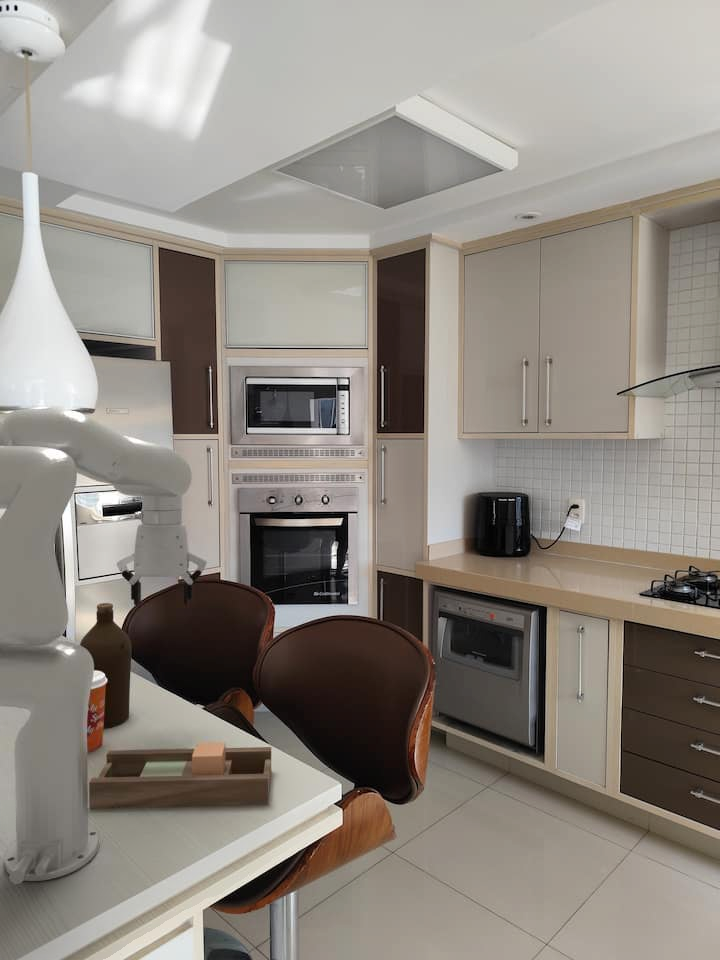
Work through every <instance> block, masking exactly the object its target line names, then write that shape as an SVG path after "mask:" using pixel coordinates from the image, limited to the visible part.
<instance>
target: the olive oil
mask: <svg viewBox="0 0 720 960" xmlns="http://www.w3.org/2000/svg"><path fill="white" fill-rule="evenodd" d="M96 609H97V610H96V622H95V624H94V625H93V626H92V628H90V629H89V630H88V632H87V633H86V634H85V635H84V636H83V637H82V639H81V640H80V644H79V645H81V646H82V647H84V648H85V649H87V651H88V652H89V653H90V654H91V656H92V659H93V663H94V670H95V671H101V672H103V673H104V674H105V677H106V678H107V683H106V687H105V707H104V726H103V729H107V728H108V729H109V728H113V727H117V726H119V725H122V724H123V723H125V722H126V721H127V720H128V719H129V717H130V692H131V691H130V690H131V672H132V671H131V670H132V669H131V667H132V655H133V654H132V649H133V647H132V641H131V639H130V637H129V634H127V632H125V631H124V630H123V628H121V626H120V625H118V624H117V623H116V622H115V621H114V610H113V609H114V604H113V603H109V602H105V603H104V602H102V603H99V604H97V605H96Z"/></svg>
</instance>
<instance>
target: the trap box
mask: <svg viewBox="0 0 720 960" xmlns="http://www.w3.org/2000/svg"><path fill="white" fill-rule="evenodd" d="M194 749H195V748H168V749H167V748H165V749H163V748H162V749H161V748H160V749H158V748H157V749H125V750H124V749H117V750H115V749H112V750H109V749H108V751H107V753H106V762H105V765H104V766H103V768H102V769H101V772H100V773H99V775H98V776H97V777H92V778H91V779H90V780H89V783H88V796H89V797H88V810H107V809H141V808H142V809H144V808H172V807H173V808H176V807H177V808H178V807H179V808H180V807H181V808H182V807H210V806H212V807H215V806H245V805H252V806H253V805H268V804H269V796H270V786H271V785H270V784H271V777H272V776H271V775H272V746H264V747H263V746H261V747H259V746H257V747H256V746H255V747H254V746H253V747H251V746H250V747H225V767H224V771H223V775H192V755H193V752H194Z"/></svg>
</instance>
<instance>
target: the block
mask: <svg viewBox="0 0 720 960" xmlns="http://www.w3.org/2000/svg"><path fill="white" fill-rule="evenodd" d="M225 748H226V742H223V741H222V742H196V744H195V747H194V748H193V749H194V752H193V755H192V775H223V771H224V767H225Z"/></svg>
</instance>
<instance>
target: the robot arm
mask: <svg viewBox="0 0 720 960" xmlns="http://www.w3.org/2000/svg"><path fill="white" fill-rule="evenodd" d="M192 474H193V473H192V470H191V467H190V464H189V462H188V461H187V460H186V458H185V457H183V455H182V454H180V453H178V452H176V451H175V450H173V449H171V448H169V447H166V446H163V445H160V444H155V443H153V442H148V441H145V440H141V439H138V438H134V437H131V436H127V435H124V434H123V435H122V434H120V433H117V432H116V431H114V430H112V429H111V428H108V427H107V426H105V425H104V424H102V423H100V422H98V421H97V420H96V419H93V418H92V417H90V416H88V415H86V414H85V413H82V412H79V411H77V410H76V411H75V410H70V409H31V408H30V409H28V408H26V409H23V408H22V409H21V408H20V409H17V410H13V411H9V412H7V413H6V414H4V415H2V416H0V510H1V509H2V510H5V511H4V512H3V513H2V515H1V516H0V707H5V708H17V709H23V710H24V709H26V710H28V711H29V712H30V714H29V717H28V719H27V720H26V721H25V723H24V724H23V726H21V728H20V730H19V731H18V733H17V735H16V737H15V738H16V739H15V742H14V784H15V788H14V789H15V830H16V831H15V832H16V833H15V835H16V837H15V838H16V840H14V841H13V842H12V844H11V845H10V846H9V847H8V848H7V850H6V852H5V855H4V868H5V871H6V873H7V874H9V876H8V877H9V881H10V882H11V883H12V884H14V885H20V884H22V883H23V881H25V882H40V881H41V882H42V881H47V880H53V879H56V878H57V879H58V878H60V877H63V876H65V875H69V874H71V873H73V872H75V871H77V870H79V869H80V868H82V867H83V866H84V865H86V864H87V863H88V862H90V861H91V860H92V859H93V857H94V856H95V855H96V854H97V853H98V850H99V849H100V834H99V831H98V830H97V829H96V828H95V827H94V826H92V825H91V824H89V797H88V796H89V783H88V752H87V715H88V704H89V697H90V691H91V686H92V680H93V674H94V663H93V659H92V656H91V654H90V653H89V652H88V651H87V649H85V648H84V647H82V646H81V645H80V644H79V643H75V642H72V641H66V640H61V639H59V638H61V637H62V635H64V634H65V631H66V630H67V627H68V623H69V609H68V604H67V602H68V601H67V599H66V594H65V590H64V586H63V582H62V578H61V574H60V570H59V566H58V561H57V556H56V551H55V538H56V534H57V530H58V527H59V525H60V522H61V520H62V517H63V515H64V513H65V511H66V509H67V508H68V505H69V502H70V500H71V498H72V497H73V494H74V492H75V489H76V485H77V479H78V478H77V477H78V475H80V476H84V477H86V478H89V479H91V480H92V481H95V482H99V483H104V484H111V485H112V487H113V488H114V490H116V491H117V492H118V493H120V494H122V495H125V496H130V497H131V496H134V497H141V499H142V501H141V502H142V506H141V507H142V508H141V510H140V511H135V512H134V520H139V521H141V524H139V525H137V529H136V534H135V542H134V553H133V554H131V555H129V556H127V557H124V558H122V559H120V560H119V561H117V562H116V566H117V569H118V570H119V572H120V574H121V576H122V577H123V578H124V579H125V580H126V581H127V582H128V584H129V585H130V599H131V601H133V605H134V606H137V605H139V604H140V603H141V602H142V601H141V600H142V582H140V579H141V577H146V578H147V577H151V578H152V577H153V578H154V577H155V578H159V577H169V578H170V577H181V578H182V579H183V581H184V585H183V604H184V605H188V604H190V601H191V600H192V599H193V598H194V597H193V596H194V595H193V593H194V590H193V589H194V587H193V585H194V583H195V581H196V580H197V579H198V578H200V577H201V576H202V573H203V571H204V570H205V568H206V566H207V564H208V562H207V560H205V559H203V558H201V557H199V556H197V555H195V554H193V553H191V552H190V551H189V541H188V534H187V528H186V524H184V523H182V522H183V518H182V517H183V511H182V510H183V506H182V505H183V498H182V497H183V495H184V494H185V493H187V492H188V491H189V489H190V487H191V485H192V480H193V478H192V477H193V476H192ZM130 563H133V571H134V573H132V572H131V571H130V570H129V569H128V565H129V564H130ZM190 563H193V564H195V565H197V568H196V570H195V571H194V572H193V573H191V572H190V571H189V567H190Z"/></svg>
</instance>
